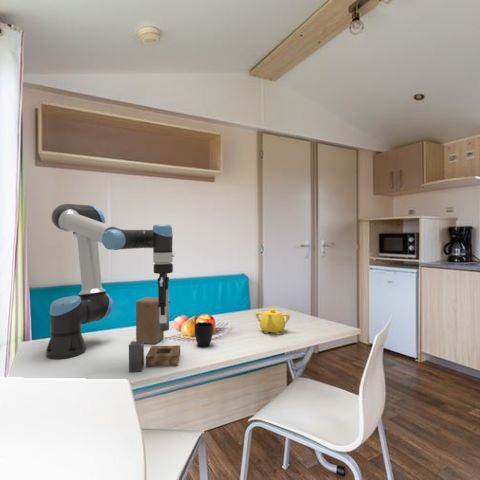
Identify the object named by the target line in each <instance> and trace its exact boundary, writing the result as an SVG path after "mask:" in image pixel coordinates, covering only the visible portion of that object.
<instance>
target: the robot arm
mask: <svg viewBox="0 0 480 480" xmlns="http://www.w3.org/2000/svg"><path fill="white" fill-rule="evenodd" d="M51 222H52V224H53V225H54V227H56V228H57V229H59V230H62V231H64V232H72V234H73V236H74V237H75V238H76V239H77V240H76V241H77V251H78V260H79V272H80V285H81V290H80V292H78V295H70V296H64V297H60V298H57V299H55V300H53V301H52V302H51V304H50V309H49V315H50V316H49V317H50V320H49V321H50V338H49V340H48V344H47V346H46V349H45V350H46V351H45V356H46V358H48V359H53V360H61V359H69V358H73V357H76V356H79V355H82V354H84V353H85V352H86V351H87V348H86V347H87V346H86V342H85V340H84V337H83V334H82V325H86V324H90V323H93V322H97V321H101V320H103V319H106V318H108V317H109V315H110V314H111V313H112V310H113V303H114V302H113V299H112V297H111V295H110V294H108V293H107V292H106V291H107V290H106V289H105V288H103V286H102V285H103V284H102V274H101V262H100V252H99V243H102V245H103V246H104V248H105V249H106V250H111V251H112V250H113V251H119V250H129V249H130V250H132V249H134V250H135V249H152V250H153V251H152V252H153V253H152V254H153V255H152V258H153V263H154V264H153V273H154V274H158V275H159V277H158V278H157V293H158V294H157V295H158V297H157V298H158V303H159V304H158V305H157V307H159V318H160V323H167V306H166V289H169V286H170V285H169V281H170V277H169V276H168V274H173V272H174V267H173V265H174V264H173V260H174V259H173V258H174V257H175V255H174V254H173V226H172V225H171V224H153V226H152V229H123V228H122V229H121V228H118V227H116V226H112V225H110V224H107V223H105V222H106V219H105V215H104V213H103V211H102V209H100V208H99V207H98V206H94V205H90V204H73V203H64V204H61V205H58V206H57V207H55V208H54V210H53V211H52V213H51ZM98 242H99V243H98ZM170 302H171V301H170V300H169V304H171V303H170Z"/></svg>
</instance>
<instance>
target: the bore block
mask: <svg viewBox="0 0 480 480" xmlns="http://www.w3.org/2000/svg"><path fill="white" fill-rule="evenodd" d="M145 355H146V356H145V368H156V367H157V368H158V367H159V368H160V367H178V366H179V361H180V357H181V345H180V344H177V345H153V346H151V345H150V348H149V350H148V352H147V353H146V354H145Z"/></svg>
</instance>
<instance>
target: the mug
mask: <svg viewBox="0 0 480 480" xmlns="http://www.w3.org/2000/svg"><path fill="white" fill-rule="evenodd" d="M213 331H214V326H213V323H212V322H207V321H204V322H203V321H202V322H200V321H198V322H196V323H195V324H194V336H195V340H196V344H197V347H200V348H207V347H209V346H210V345H211V343H212V339H213V334H214V333H213Z"/></svg>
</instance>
